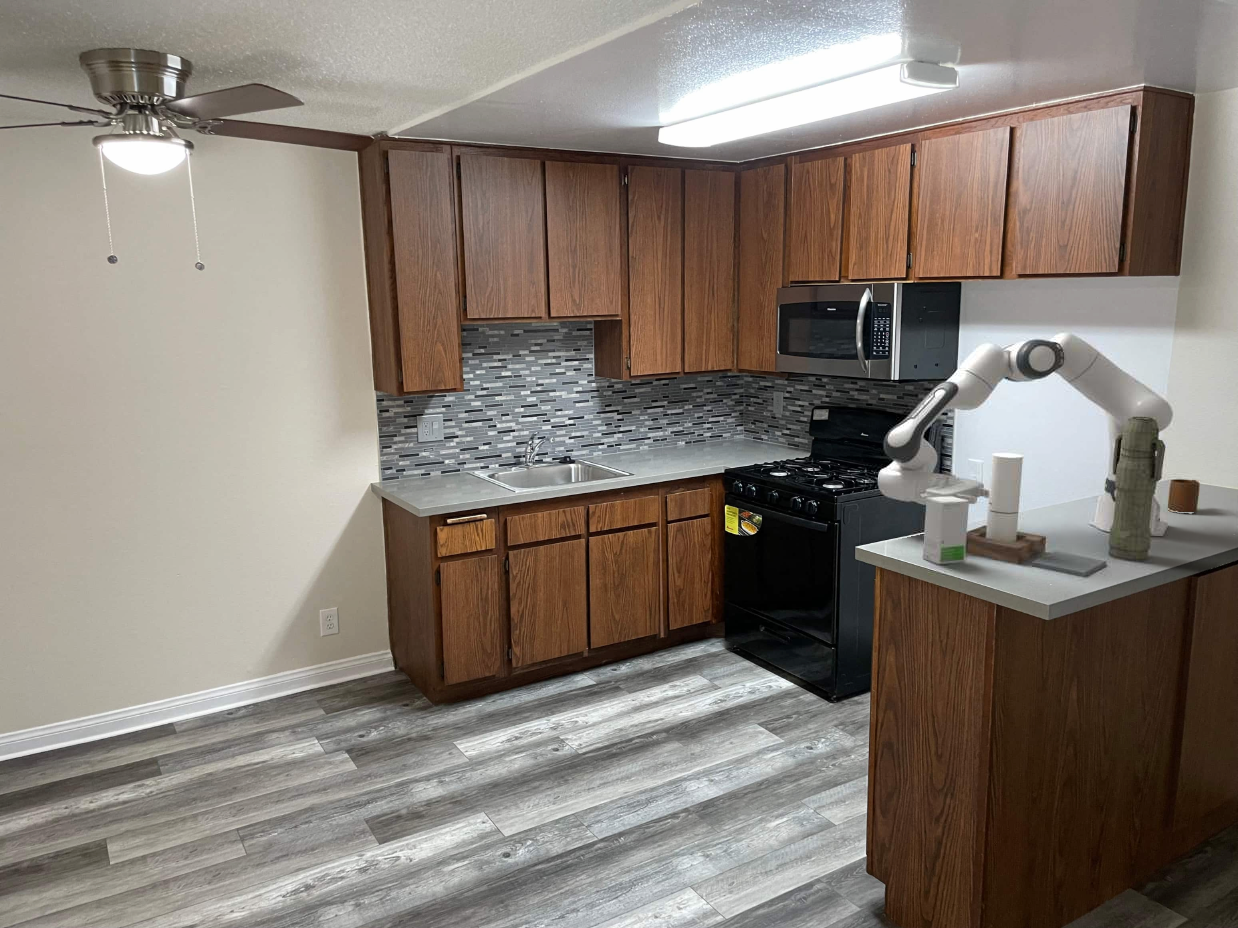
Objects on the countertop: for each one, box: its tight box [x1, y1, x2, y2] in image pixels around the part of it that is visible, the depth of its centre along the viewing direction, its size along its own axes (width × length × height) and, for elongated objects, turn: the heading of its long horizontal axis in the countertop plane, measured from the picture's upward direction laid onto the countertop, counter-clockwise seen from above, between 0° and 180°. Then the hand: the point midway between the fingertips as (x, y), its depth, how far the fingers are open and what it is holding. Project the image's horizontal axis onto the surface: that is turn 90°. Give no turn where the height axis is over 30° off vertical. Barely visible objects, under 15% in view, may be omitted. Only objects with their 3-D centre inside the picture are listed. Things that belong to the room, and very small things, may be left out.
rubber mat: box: [1031, 550, 1107, 578], centre depth 219 cm, size 14×12×1 cm
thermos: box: [1107, 417, 1166, 562], centre depth 224 cm, size 9×12×35 cm
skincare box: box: [922, 496, 970, 565], centre depth 222 cm, size 8×7×16 cm
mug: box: [1167, 478, 1200, 513], centre depth 275 cm, size 12×8×9 cm, turn 126°
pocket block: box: [965, 524, 1047, 565], centre depth 231 cm, size 16×16×4 cm
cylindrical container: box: [986, 452, 1024, 543], centre depth 229 cm, size 7×7×25 cm
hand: (984, 497), depth 233 cm, fingers open, 8 cm apart
